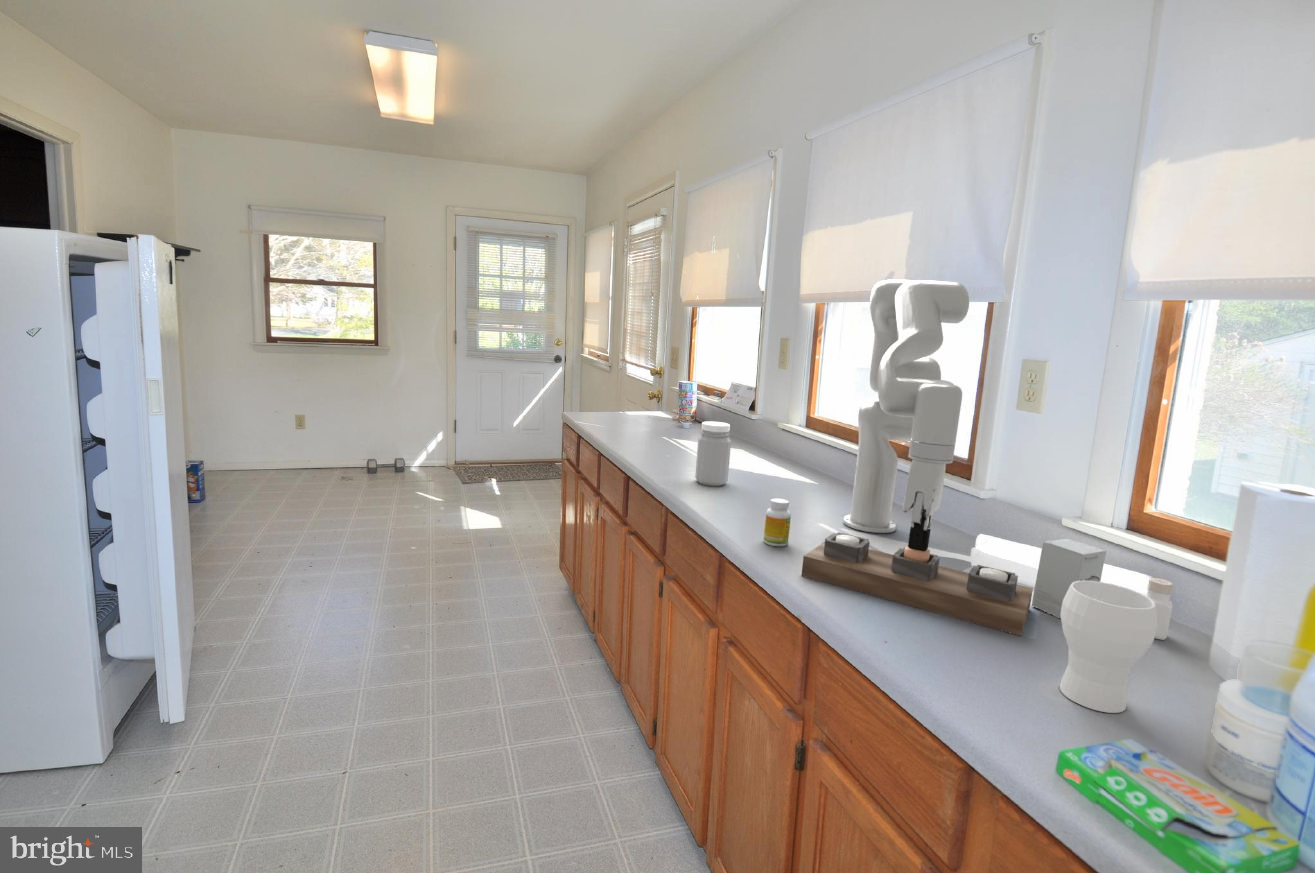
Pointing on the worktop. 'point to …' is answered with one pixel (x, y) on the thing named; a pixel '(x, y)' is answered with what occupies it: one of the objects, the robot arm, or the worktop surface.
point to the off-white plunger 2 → (993, 574)
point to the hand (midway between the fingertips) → (917, 548)
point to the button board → (921, 583)
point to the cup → (1104, 642)
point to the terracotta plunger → (917, 554)
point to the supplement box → (1064, 571)
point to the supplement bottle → (777, 523)
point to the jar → (713, 454)
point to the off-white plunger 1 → (847, 539)
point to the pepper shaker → (1161, 604)
